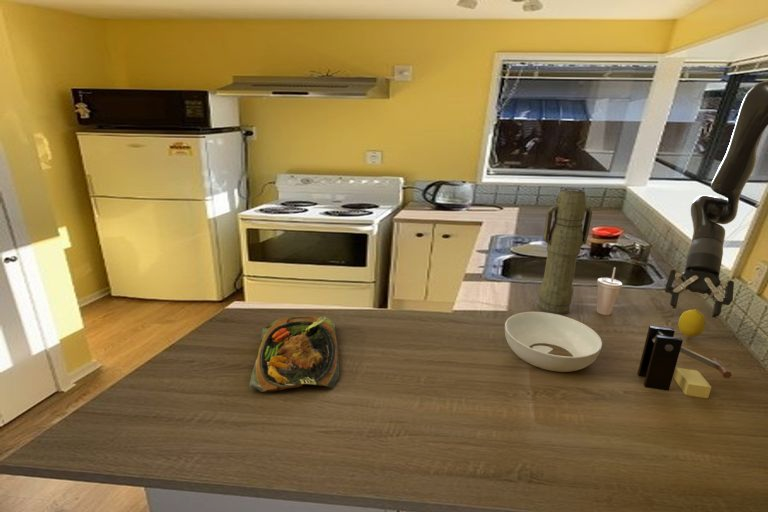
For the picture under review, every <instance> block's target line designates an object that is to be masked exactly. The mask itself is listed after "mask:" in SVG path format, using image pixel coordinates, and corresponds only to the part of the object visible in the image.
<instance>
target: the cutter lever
mask: <svg viewBox="0 0 768 512" xmlns="http://www.w3.org/2000/svg"><path fill="white" fill-rule="evenodd" d="M656 335H660V336H667V337H671V336H669V335H667V334H665V333H663V332H660V331H658V332H657V333H656ZM656 335H655V336H654V337H653V339H652V341H653V342H655V338H656ZM680 353H681V354H684V355H685V356H687V357H690V358H692V359H694V360H695V361H698V362H701V363H703V364H704V365H706V366H709V367H711V368H713V369H715V370H716V371H718V373H720V374H721V376H722V377H723V378H725V379H730V378H731V377H732V372H731V371H730V370H729V369H728V368H727V367H726V366H725V364H723V363H722V361H720V359H719V358H716V357H715V358H712V359H710V358H709V357H706V356H704V355H701V354H699V353H698V352H695V351H693V350H691V349H689V348H687V347H684V346H683V345H682V346H681V349H680Z"/></svg>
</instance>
